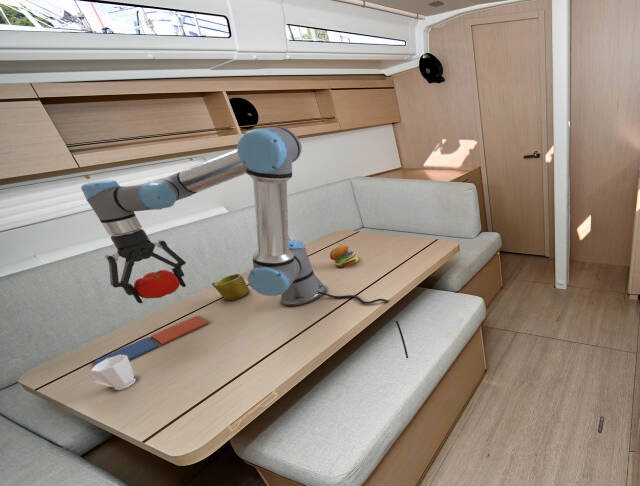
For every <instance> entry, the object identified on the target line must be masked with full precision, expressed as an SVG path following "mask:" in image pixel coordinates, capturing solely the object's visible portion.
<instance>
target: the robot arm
mask: <svg viewBox="0 0 640 486" xmlns="http://www.w3.org/2000/svg"><path fill="white" fill-rule="evenodd" d="M301 154H302V144H301V141H300V138H299V137H298V135H296V134H295V132H293V131H291V130H290V129H288V128H286V127H283V126H279V125H277V126H275V125H274V126H269V127H258V128H253V129H250V130H248V131H246V132H245V133H244V134H242V135H241V136H240V138H239V139H238V141H237V144H236V149H234V150H232V151H230V152H226V153H224V154H221V155H219V156H217V157H215V158H211V159H209V160H206V161H204V162H201V163H199V164H195V165H194V166H191V167H189V168H187V169H183V170H181V171H179V172H176V173H174V174H171V175H168V176H165V177H161V178H158V179H155V180H152V181H148V182H144V183H141V184H133V185H126V186H121V185H120V184H119V183H118V182H117V180H114V179H105V180H98V181H92V182H91V181H90V182H87V183H84V184H82V185H81V187H80V189H81V192H82V194H83V195H84V198H85V200H86V202H87V203H88V204H89V206H90V207H91V209H92V210H93V212H94V213H95V215H96V217H97V218H98V220H99V221H100V223H101V225H102V226H103V228H104V230H105V231H106V233H107V235H109V236H110V240H111V242H112V243H113V245H114V247H115V248H116V250H117V252H116V253H113V254H106V255H104V258H105V259H106V261H107V263H108V269H109V281H110V286H112V287H113V288H122V289H123V290H124V292H125V294H126V295H128V296H133V298H134V300H135V301H136V303H138V304H143V303H144V302H143V300H142V297H140V296H139V295H138V293H137V292H136V290H135V289H134V284H132V283H130V279H131V275H132V273H133V267H134V265H135V262H136V263H138V262H142V261H143V260H148V259H150V258H151V257H152V258H155V259H156V260H158V261H160V262H162V263H164V264H166V265H169V266H171V267H172V268H171V272H172V273H173V274H175V275H176V277H177V278H178V279H179V282H180V285H179V287H182V288H186V287H187V284H186V282H185V281H184V279H183V277H185V273H184V271H183V269H182V267H183V266H185V265H186V264H187V262H186V260H184V259H183V258H182V257H181V256H179V255H178V254H177V253H176V252H175V251H173V249H171V247H169V246H168V244H167V242H166V241H165V240H163V239H159V240H157V241H154V242H152V241H151V240H150V238H149V236H148V235H147V233H146V231H145V229H143V225H142V223H141V222H140V220H139V219H138V217H137V215H136V214H135V212H142V211H154V210H157V211H158V210H163V209H167V208H172V207H173V206H175V203H176V201H179V200H182V199H185V198H188V197H191V196H193V195H195V194H197V193H200V192H202V191H205V190H207V189H211V188H213V187H216V186H217V185H218V186H219V185H220V184H223V183H225V182H228V181H230V180H233V179H236V178H238V177H241V176H244V175H248V176H249V177H250V178H251V179H252V181H253V182H252V183H253V196H254V197H253V198H254V214H255V227H256V228H255V229H256V242H257V243H256V244H257V250H256V251H254V252H253V254H252V269H251V270H250V271H249V273H248V275H247V282H248V283H247V284H248V285H249V287H250V288H251V289H252V290H253V291H255V292H257V294H260V295H263V296H266V297H277V296H280V300H281V302H282V304H283V305H284V306H288V307H289V306H290V307H294V306H302V305H306V304H308V303H310V302H313V301H316V300H317V299H319V298H321V297H322V296H327V297H329V298H333V299H346V298H355V299H357V300H358V301H359V302H360V303H362V304H366V305H368V304H373V303H377V302H384V303H389V301H388V300H387V299H385V298H377V299H374V300H370V301H365V300H363V299H362V298H361V297H359V296H357V295H355V294H347V295H332V294H329V293H326V288H325V285H324V283H322V281H321V280H320V279H319V278H318V276H317V275H316V274H315V272H314V270H313V266H312V264H311V261H310V258H309V256H308V252H307V250H306V247H305V245H304V243H303V241H301V240H300V239H290V240H289V214H288V182H289V180H290V179H292V178H293V163H294V162H296V161H297V160H298V159H300V156H301ZM156 247H157V248H159V249H161V250H163V251H164V253H167V255H168V256H170V257H171V258H173V260H174V261H176V263H175V262H174V261H172V260H170V259H168V258H165V257H163V256H162V255H159V254H158V253H156V252H154V251H155V248H156ZM120 257H121V258H123V259H125V260H124V267H123V270H122V274H121V278H120V279H119V272H118V263H117V262H118V261H119V258H120ZM119 280H120V281H119ZM395 324H396V326H397V329H398V331H399V335H400V338H401V342H402V345H403V346H402V347H403V349H404V354H405V359H407V358H409V354H408V351H407V346H406V343H405V338H404V334H403V332H402V329H401V326H400V323H399V321H398V320H396V321H395Z"/></svg>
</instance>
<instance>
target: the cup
mask: <svg viewBox="0 0 640 486" xmlns="http://www.w3.org/2000/svg"><path fill="white" fill-rule="evenodd" d="M93 374H94V375H96V376H97V377H98V378H99V379H101V380H102V381H100V380H97V379H96V378H95V377H94V376H93ZM87 377H88V378H89V380H90V381H91V382H92V383H93V384H95V385H99V386H102V387H108V388H113V389H114V390H117V391H121V390H124V389H126V388H129V387H130V386H132V385H133V384H135V382H136V381H137V380H136V378H134V377H135V374H134V370H133V367H132V364H131V362H130V360H129V359H128V357H127V355H117V356H114V357H110V358H107V359H105V360H103V361H102V362H100V363H98V364H96V363H95V364H94V366H93V367H92V368H91V369H89V370H88V372H87Z"/></svg>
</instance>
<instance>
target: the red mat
mask: <svg viewBox="0 0 640 486" xmlns="http://www.w3.org/2000/svg"><path fill="white" fill-rule="evenodd" d="M207 325H209V322H208V321H206V320H204V319H202V318H200V317H198V316H197V315H195V316H192V317H191V318H188V319H186V320H184V321H182V322H179V323H177V324H175V325H173V326H170V327H168V328H166V329H163V330H161V331H159V332H156V333H154V334H152V335H151V338H153V339H154V340H155V341H157V342H158V343H159V344H161V345H162V346H163V345H165V344H168V343H170V342H172V341H174V340H177V339H179V338H181V337H183V336H185V335H188V334H189V333H191V332H195V331H196V330H199V329H200V328H202V327H205V326H207Z"/></svg>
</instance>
